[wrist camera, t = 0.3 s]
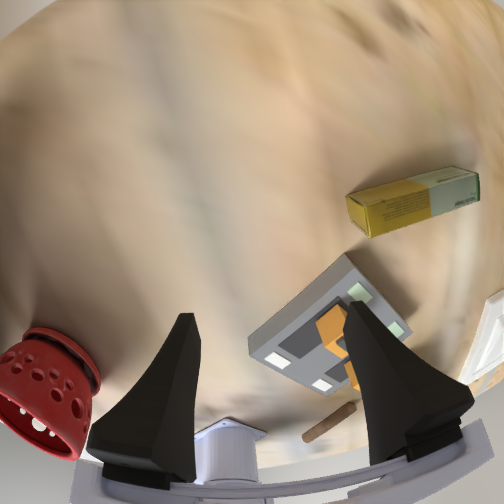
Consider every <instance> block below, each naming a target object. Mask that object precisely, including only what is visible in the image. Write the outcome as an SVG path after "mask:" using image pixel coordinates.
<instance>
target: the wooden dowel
mask: <svg viewBox="0 0 504 504" xmlns="http://www.w3.org/2000/svg"><path fill="white" fill-rule="evenodd" d="M356 410H357V408H356V406H355V404H354V403H350V402H348V403H346V404H345V405H344V406H342V407H341V408H340V409H339V410H337V411H336V412H335V413H333V414H332V415H330V416H329V417H328V418H326V419H325V420H323V421H322V422H321V423H319V424H318V425H316V426H315V427H313V428H312V429H310V430H309V431H307V432H306V433H304V434H303V435H302V439H303V441H304V442H306V443H309V442H311V441H313V440H314V439H316V438H317V437H319V436H320V435H322V434H323V433H325V432H327V431H328V430H329V429H331V428H332V427H334V426H335V425H337V424H338V423H340V422H341V421H343V420H344V419H345V418H347V417H348V416H349V415H351V414H352V413H354V412H355V411H356Z"/></svg>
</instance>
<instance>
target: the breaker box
mask: <svg viewBox="0 0 504 504" xmlns="http://www.w3.org/2000/svg"><path fill="white" fill-rule="evenodd" d="M360 300H362V301H363V302H364V303H365V304H366V305H367V306H368V307H369V308H370V310H371V311H372V312H373V313H374V314H375V315H376V316H377V317H378V318H379V320H380V321H381V322H382V323H383V324H384V325H385V326H386V327H387V328H388V329H389V330H390V331H391V332H392V333H393V334H394V335H395V336H396V337H397V338H398V339H399V340H400V341H401V342H402V341H404V340H405V339H406V338H407V337H408V336H409V335H411V334H412V333H413V332H412V330H411V329H410V328H409V326H408V325H407V323H406V322H405V321H404V319H403V318H402V317H401V316H400V314H399V313H398V312H397V311H396V310H395V309H394V308H393V306H392V305H391V304H390V303H389V302H388V301H387V300H386V298H385V297H384V296H383V295H382V294H381V293H380V292H379V291H378V289H377V288H376V287H375V286H374V285H373V284H372V283H371V282H370V281H369V280H368V279H367V277H366V276H365V275H364V274H363V273H362V272H361V271H360V270H359V269H358V268H357V267H356V266H355V265H354V263H353V262H352V261H351V260H350V259H349V258H348V257H347V256H346V255H345V254H343V255H342V256H340V257H339V258H338V259H337V260H336V261H335V262H334V263H333V264H332V265H331V266H330V267H329V268H328V269H326V270H325V271H324V272H323V273H322V274H321V275H320V276H319V277H318V278H317V279H315V280H314V281H313V282H312V283H311V284H310V285H309V286H308V287H307V288H305V289H304V290H303V291H302V292H301V293H300V294H299V295H298V296H296V297H295V298H294V299H293V300H292V301H291V302H289V303H288V304H287V305H286V306H285V307H284V308H283V309H281V310H280V311H279V312H278V313H277V314H276V315H274V316H273V317H272V318H271V319H270V320H268V321H267V322H266V323H265V324H264V325H262V326H261V327H260V328H259V329H258V330H256V331H255V332H254V333H253V334H252V335H250V336H249V337H248V347H249V356H250V357H252V358H254V359H255V360H257V361H259V362H261V363H263V364H264V365H266V366H268V367H270V368H272V369H273V370H275V371H277V372H279V373H281V374H283V375H284V376H286V377H288V378H290V379H292V380H294V381H296V382H298V383H300V384H302V385H304V386H306V387H308V388H310V389H312V390H314V391H316V392H318V393H320V394H322V395H324V396H326V397H327V396H329V395H331V394H332V393H334V392H335V391H337V390H338V389H340V388H341V387H343V386H344V385H346V384H347V383H349V382H350V379H349V376H348V374H347V371H346V369H345V366H344V365H345V364H346V363H348V362H349V361H350V357H349V355H346V356H345V357H344V358H342V359H341V358H340V357H338V356H337V355H335V354H334V353H332V352H331V351H329V350H328V349H327V348H325V347H324V344H323V341H322V339H321V336H320V333H319V331H318V328H317V325H316V323H315V322H316V321H318V320H319V319H320V318H321V317H322V316H324V315H325V314H326V313H327V312H328V311H330V310H331V309H332V308H333V307H334V306H335V305H337V304H338V305H339V306H340V307H341V308H343V309H344V310H345V311H346V312H348V308H349V304H350V302H352V301H360Z"/></svg>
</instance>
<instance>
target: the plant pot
mask: <svg viewBox="0 0 504 504" xmlns="http://www.w3.org/2000/svg"><path fill="white" fill-rule="evenodd" d="M100 386H101V381H100V375H99V372H98V370H97V368H96V366H95V364H94V362H93V361H92V359H91V358H90V357H89V355H88V354H87V353H86V352H85V351H84V350H83V349H82V348H81V347H80V346H79V345H78V344H77V343H75V342H74V341H73V340H71V339H70V338H68V337H67V336H65V335H63V334H61V333H59V332H57V331H55V330H52V329H48V328H42V327H37V328H32V329H29V330H28V331H27V332H25V334H24V335H23V337H22V342H20V343H18V344H16V345H14V346H12V347H11V348H9V349H8V350H7V351H6V352H5V353H4V354H3V355H1V356H0V420H1V421H2V422H3V423H4V424H5V425H6V426H8V427H9V428H10V429H11V430H12V431H13V432H15V433H16V434H17V435H18V436H20V437H21V438H22V439H24V440H25V441H27V442H28V443H30V444H31V445H33V446H35V447H36V448H38V449H40V450H42V451H44V452H46V453H48V454H50V455H53V456H55V457H58V458H61V459H64V460H69V461H74V460H77V459H78V458H79V457H80V455H81V453H82V450H83V448H84V445H85V442H86V438H87V434H88V429H89V426H90V421H91V414H92V397H93V396H95V395H96V394H98V392H99V390H100ZM7 398H8V399H9V400H11V401H9V400H8V399H7ZM20 408H23V409H24V410H25V411H26V413H25V414H24V415H23V414H21V412H20ZM34 417H35V418H36V419H38V420H39V421H40V422H42V423H43V424H44V425H45V426H47V427H46V429H45V430H44V431H37V430H36V429H35V428H34V427H33V425H32V419H33V418H34ZM50 431H52V432H54V433H55V436H53V437H52V436H50V435H49V433H50Z"/></svg>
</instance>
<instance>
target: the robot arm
mask: <svg viewBox="0 0 504 504" xmlns="http://www.w3.org/2000/svg"><path fill="white" fill-rule="evenodd" d="M343 335H344V340H345V344H346V348H347V352H348V355H349V357H350V360H351V363H352V366H353V369H354V372H355V375H356V378H357V381H358V384H359V387H360V391H361V394H362V399H363V404H364V410H365V416H366V423H367V431H368V440H369V456H370V467H366V468H362V469H358V470H354V471H350V472H345V473H341V474H336V475H331V476H326V477H320V478H314V479H308V480H301V481H293V482H284V483H273V484H261V482H259V480H258V469H257V458H256V447H255V441H257V440H260V439H262V438H264V437H266V436H267V433H266V432H263V431H260V430H257V429H254V428H251V427H248V426H246V425H243V424H240V423H238V422H235V421H233V420H230V419H223V420H222V421H220V422H218V423H216V424H214V425H212V426H210V427H208V428H207V429H205V430H203V431H201V432H199V433H197V434H195V435H194V408H195V398H196V390H197V383H198V376H199V368H200V361H201V339H200V335H199V332H198V328H197V324H196V321H195V317H194V313H180V314H179V315H178V318H177V320H176V322H175V324H174V326H173V328H172V329H171V331H170V333H169V335H168V337H167V339H166V340H165V342H164V344H163V345H162V347H161V349H160V351H159V352H158V354H157V355H156V357H155V358H154V360H153V361H152V363H151V364H150V366H149V367H148V369H147V370H146V371H145V373H144V374H143V375H142V377H141V378H140V379H139V380H138V382H137V383H136V384H135V385H134V386H133V387H132V389H131V390H130V391H129V392H128V393H127V394H126V395H125V396H124V397H123V398H122V399H121V400H120V401H119V402H118V403H117V404H116V405H115V406H114V407H113V408H112V409H111V410H110V411H108V412H107V413H106V414H105V415H104V416H102V417H101V418H100V419H99V420H97V421H96V422H95V423H93V424H92V427H91V429H90V432H89V436H88V441H87V446H86V450H87V452H88V453H89V454H90V455H92V456H94V457H95V458H97V459H99V460H100V461H102V462H104V466H103V467H100V466H97V465H94V464H90V463H87V462H84V461H80V460H76V463H75V469H74V475H73V481H72V487H71V494H70V504H274V501H273V498H277V497H287V496H296V495H303V494H310V493H316V492H321V491H327V490H332V489H337V488H342V487H346V486H350V485H354V484H358V483H362V482H366V481H369V480H372V479H376V478H379V477H381V478H380V479H379V480H377V481H374V482H371V483H368V484H365V485H362V486H359V487H358V488H356V489H354V490H351V491H349V492H348V493H347V494H348V499H344V500H339V501H334V502H329V503H325V504H413V503H415V502H417V501H419V500H421V499H424V498H426V497H428V496H429V495H431V494H433V493H435V492H437V491H439V490H441V489H443V488H445V487H447V486H448V485H450V484H452V483H453V482H455V481H457V480H458V479H460V478H462V477H464V476H465V475H467V474H468V473H470V472H472V471H473V470H475V469H476V468H478V467H479V466H481V465H483V464H484V463H486V462H487V461H489V460H490V459H492V458H493V457H494V452H493V450H492V446H491V443H490V441H489V438H488V435H487V432H486V430H485V427H484V424H483V422H482V419H478V420H476V421H474V422H473V423H471V424H469V425H467V426H465V427H463V428H462V429H460V427H459V425H460V424H461V419H460V417H461V416H462V415H463V414H464V413H465V412H466V411H467V410H468V409H470V408H471V406H473V404H474V402H475V400H474V398H473V395H472V393H471V391H470V389H469V387H468V386H467V385H465V384H462V383H460V382H458V381H456V380H454V379H452V378H450V377H448V376H447V375H445V374H443V373H441V372H440V371H438V370H436V369H435V368H433V367H432V366H431V365H429V364H428V363H426V362H425V361H423V360H422V359H421V358H419V357H418V356H417V355H416V354H415V353H413V352H412V351H411V350H410V349H409V348H407V347H406V346H405V345H404V344H403V343H402V342H401V341H400V340H399V339H398V338H397V337H396V336H395V335H394V334H393V333H392V332H391V331H390V330H389V329H388V328H387V327H386V326H385V325H384V324H383V323H382V322H381V321H380V320H379V318H378V317H377V316H376V315H375V314H374V313H373V312H372V311H371V310H370V308H369V307H368V306H367V305H366V304H365V303H364V302H363V301H362V300H360V301H352V302H350V304H349V308H348V312H347V316H346V320H345V323H344V327H343ZM193 482H195V483H196V484H186V483H193Z"/></svg>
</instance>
